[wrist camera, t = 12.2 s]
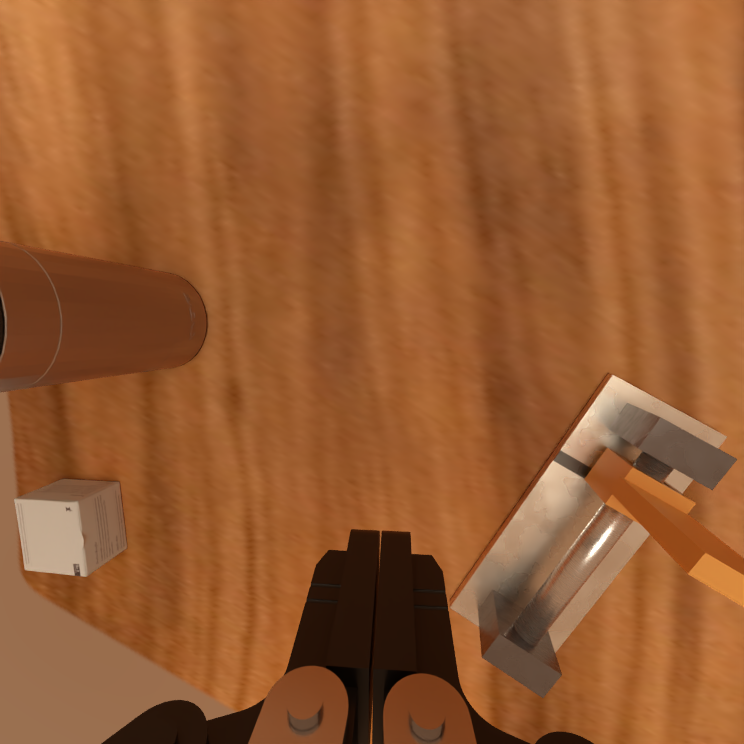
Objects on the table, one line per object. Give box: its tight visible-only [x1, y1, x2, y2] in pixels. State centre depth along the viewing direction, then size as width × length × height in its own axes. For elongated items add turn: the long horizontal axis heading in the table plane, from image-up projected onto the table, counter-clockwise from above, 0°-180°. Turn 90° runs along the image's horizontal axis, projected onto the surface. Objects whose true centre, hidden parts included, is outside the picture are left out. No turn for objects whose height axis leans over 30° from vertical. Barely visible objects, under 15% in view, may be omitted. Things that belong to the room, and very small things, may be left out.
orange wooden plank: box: [584, 448, 744, 607], centre depth 23 cm, size 3×5×13 cm, turn 60°
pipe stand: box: [450, 373, 737, 698], centre depth 30 cm, size 24×9×6 cm, turn 150°
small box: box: [14, 479, 127, 577], centre depth 40 cm, size 8×8×5 cm
